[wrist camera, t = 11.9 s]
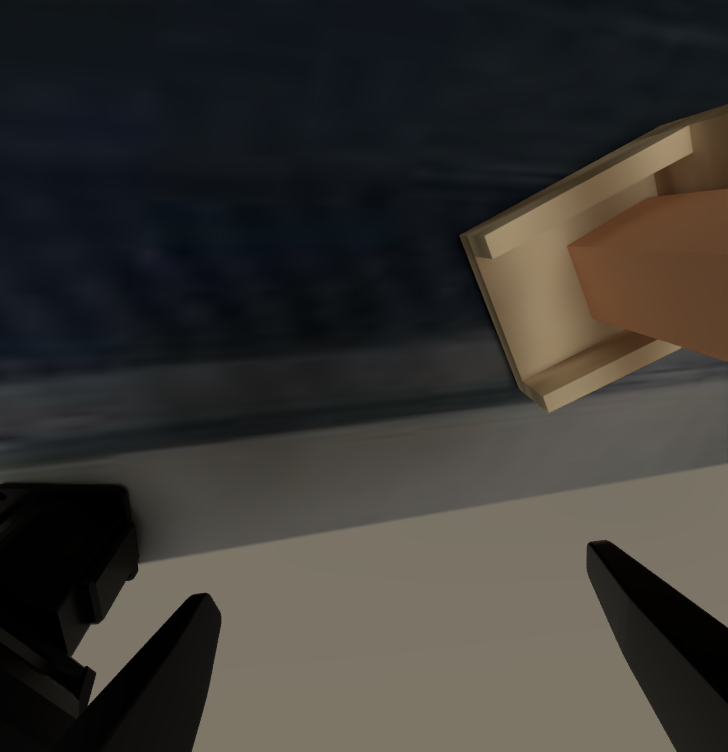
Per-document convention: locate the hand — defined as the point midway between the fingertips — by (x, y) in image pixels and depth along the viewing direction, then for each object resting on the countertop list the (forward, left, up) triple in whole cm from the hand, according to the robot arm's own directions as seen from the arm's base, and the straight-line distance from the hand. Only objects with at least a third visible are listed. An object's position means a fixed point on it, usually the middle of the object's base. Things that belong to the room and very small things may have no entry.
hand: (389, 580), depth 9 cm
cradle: (+11, +7, -12) cm, 18 cm away
